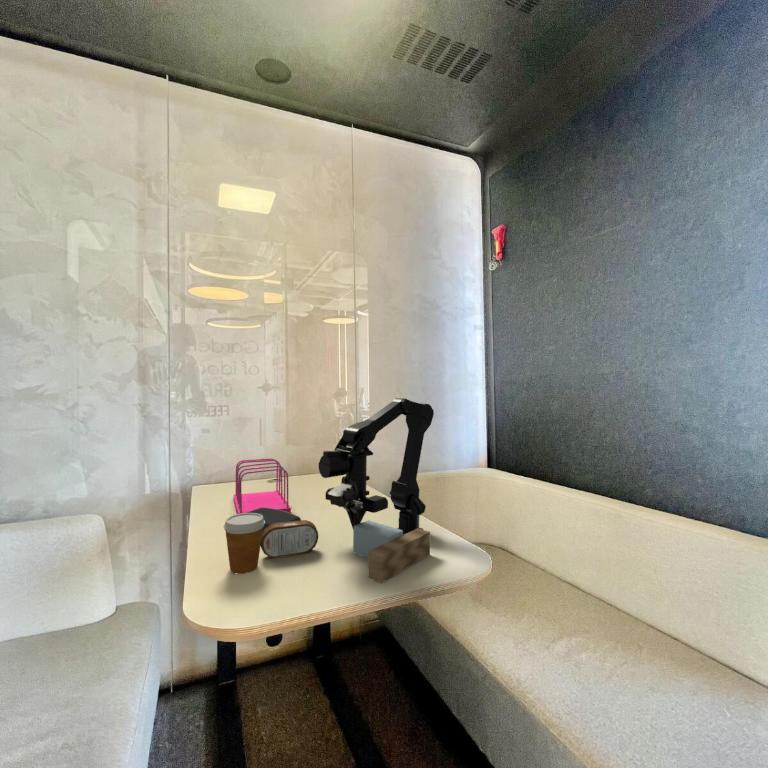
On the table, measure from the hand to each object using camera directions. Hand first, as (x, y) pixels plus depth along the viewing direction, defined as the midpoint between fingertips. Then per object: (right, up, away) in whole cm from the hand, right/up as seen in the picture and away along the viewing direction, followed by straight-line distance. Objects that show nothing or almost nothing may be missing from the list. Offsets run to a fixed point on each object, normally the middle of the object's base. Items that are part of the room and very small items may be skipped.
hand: (355, 529), depth 108 cm
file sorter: (-38, -5, +38) cm, 54 cm away
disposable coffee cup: (-26, -5, -12) cm, 29 cm away
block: (+6, -5, -4) cm, 9 cm away
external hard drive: (-29, -6, +16) cm, 33 cm away
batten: (+12, -5, -10) cm, 16 cm away
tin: (-17, -5, -4) cm, 18 cm away
